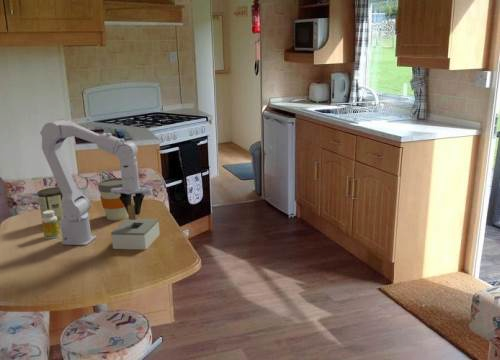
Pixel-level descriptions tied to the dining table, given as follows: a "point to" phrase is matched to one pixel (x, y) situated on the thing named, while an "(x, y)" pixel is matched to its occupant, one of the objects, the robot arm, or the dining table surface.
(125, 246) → the box
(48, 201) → the coffee can
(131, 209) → the tan rectangular block
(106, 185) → the reusable coffee cup
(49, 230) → the supplement bottle
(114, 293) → the dining table surface
